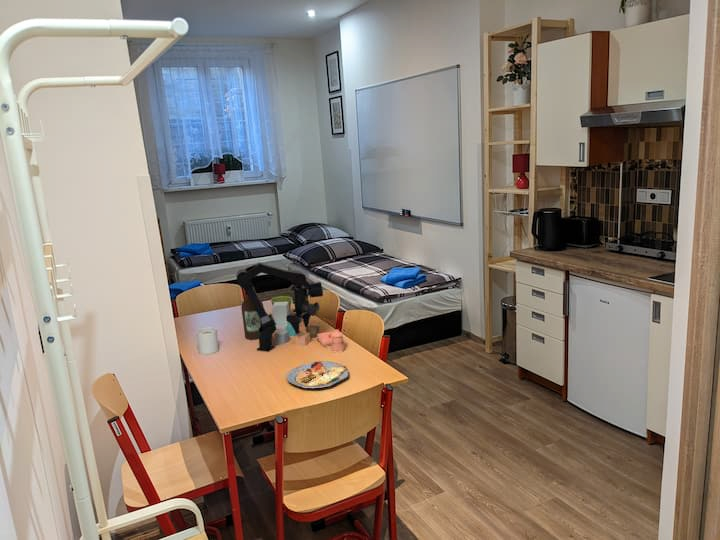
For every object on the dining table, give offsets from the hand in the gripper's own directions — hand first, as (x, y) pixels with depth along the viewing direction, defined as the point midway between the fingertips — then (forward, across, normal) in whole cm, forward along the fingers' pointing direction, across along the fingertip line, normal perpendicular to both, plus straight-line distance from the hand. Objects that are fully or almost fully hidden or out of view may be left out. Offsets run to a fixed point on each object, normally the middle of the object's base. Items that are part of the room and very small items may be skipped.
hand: (302, 330), depth 258 cm
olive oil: (+7, +3, +28) cm, 29 cm away
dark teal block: (+7, +11, +11) cm, 17 cm away
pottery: (+7, +2, -15) cm, 16 cm away
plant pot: (+7, +32, +28) cm, 43 cm away
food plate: (+7, -33, -23) cm, 41 cm away
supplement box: (+7, +20, +22) cm, 31 cm away
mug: (+7, -19, +39) cm, 44 cm away
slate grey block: (+7, 0, +11) cm, 13 cm away
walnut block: (+7, +11, 0) cm, 13 cm away
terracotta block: (+7, 0, 0) cm, 7 cm away
